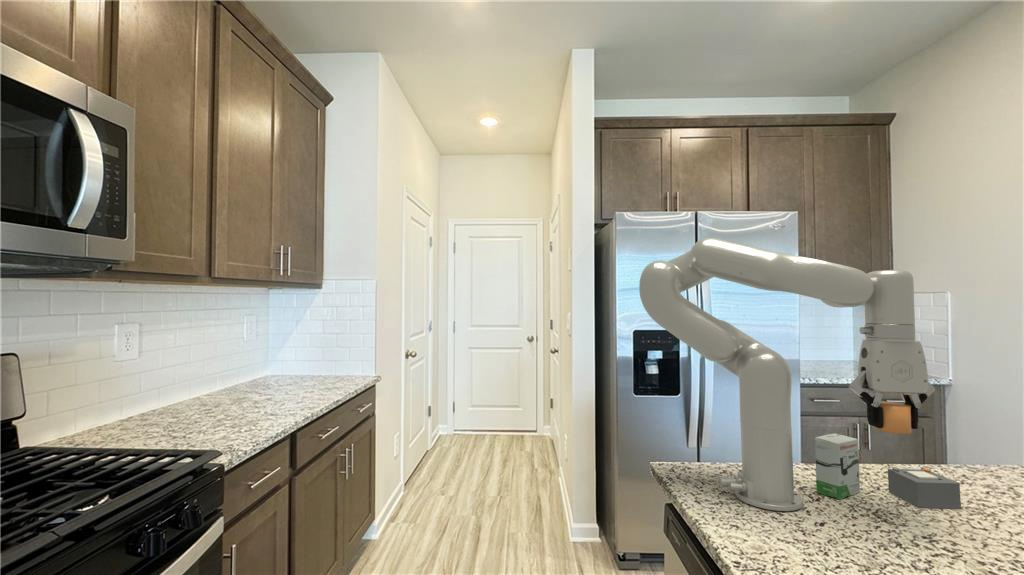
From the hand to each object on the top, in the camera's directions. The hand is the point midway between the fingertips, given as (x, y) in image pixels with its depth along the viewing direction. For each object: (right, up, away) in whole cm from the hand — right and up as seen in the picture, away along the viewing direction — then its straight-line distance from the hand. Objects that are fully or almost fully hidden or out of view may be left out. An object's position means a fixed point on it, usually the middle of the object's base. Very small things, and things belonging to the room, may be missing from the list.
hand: (892, 425), depth 88 cm
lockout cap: (0, -1, 0) cm, 1 cm away
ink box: (-2, -18, +11) cm, 22 cm away
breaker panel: (+12, -18, +7) cm, 23 cm away
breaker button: (+12, -17, +7) cm, 22 cm away
